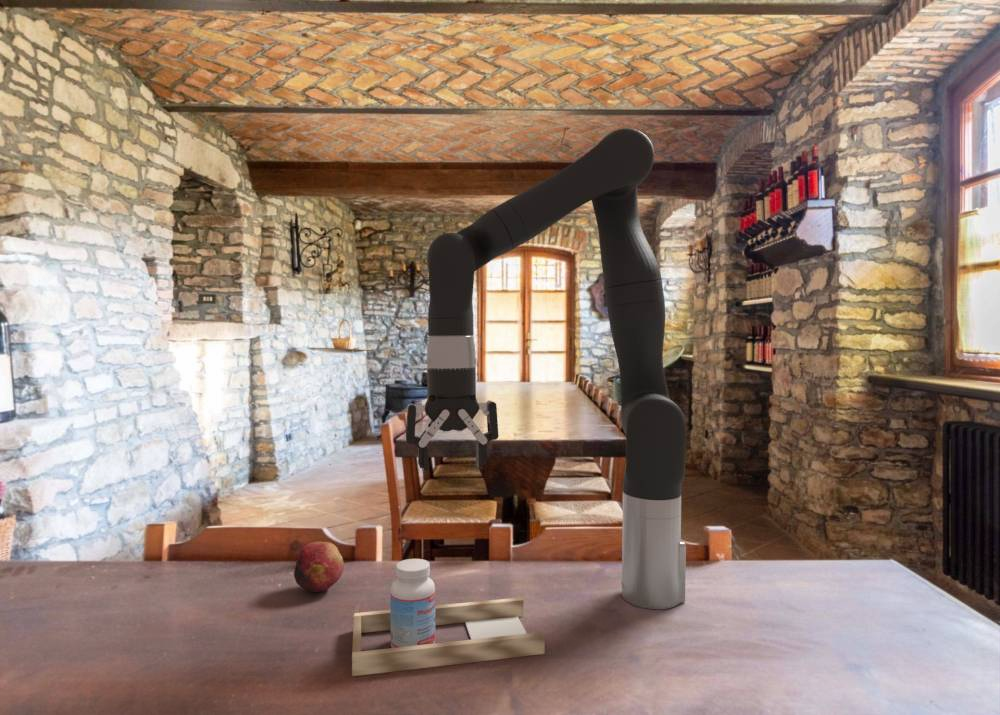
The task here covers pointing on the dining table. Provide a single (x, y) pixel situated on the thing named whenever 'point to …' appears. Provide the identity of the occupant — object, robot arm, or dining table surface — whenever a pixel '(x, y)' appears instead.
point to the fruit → (318, 566)
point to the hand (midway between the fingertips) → (452, 469)
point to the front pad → (495, 628)
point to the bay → (448, 650)
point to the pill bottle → (412, 605)
